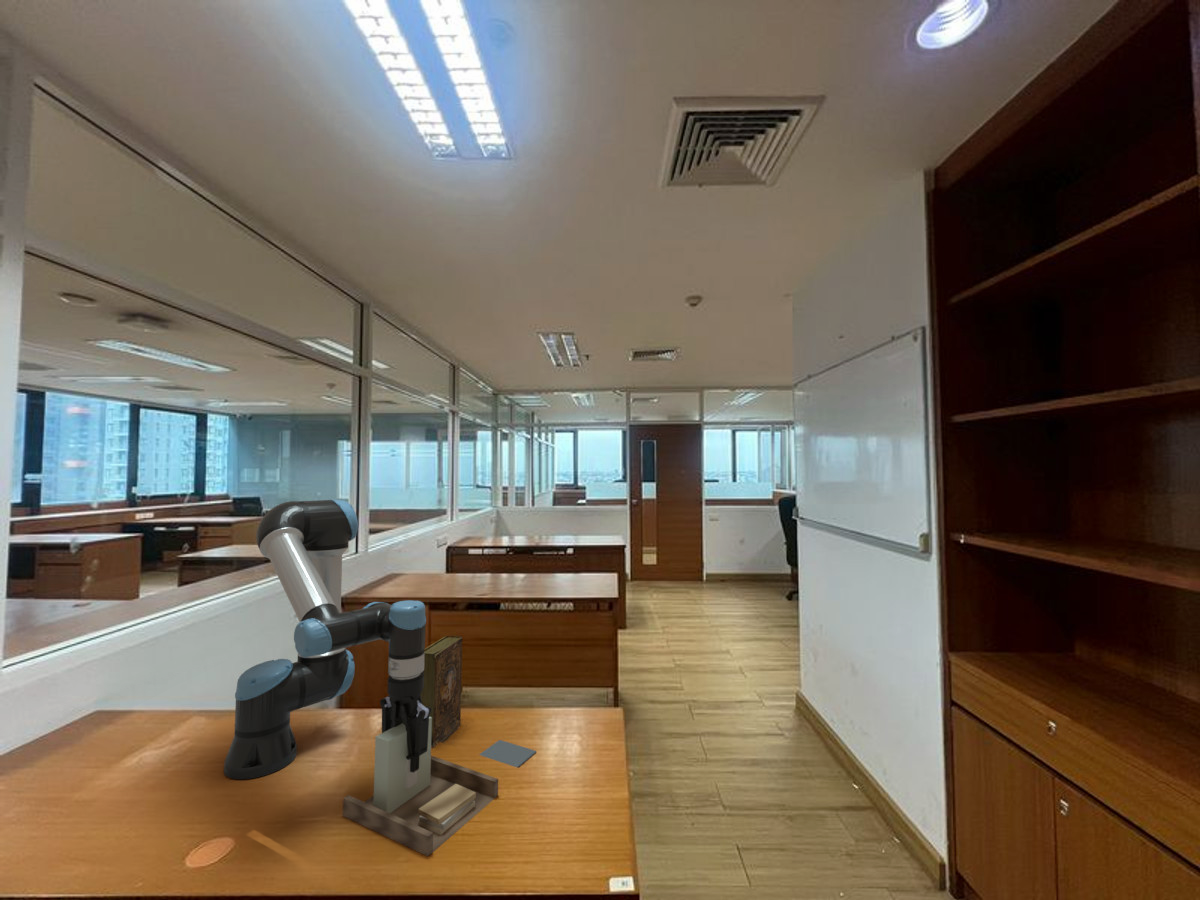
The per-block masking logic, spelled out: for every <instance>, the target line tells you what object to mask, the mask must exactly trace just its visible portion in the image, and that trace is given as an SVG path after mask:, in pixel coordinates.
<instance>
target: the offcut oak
mask: <svg viewBox="0 0 1200 900" xmlns="http://www.w3.org/2000/svg"><path fill="white" fill-rule="evenodd" d="M474 798H476V792H473V791H471V790H469V789H467V788H465V787H462V786H460V785H458V784H455V785H453V786H452V787H450V788H449V789H447V790H446V791H444V792H443V793H441V794H440V795H438V796H437V797H435V798H434V799H432V800H431V801H429V802H428V803H426V804H425V805H423V806H422V807H420V808H419V809H418V814H419V815H421V816H423V817H425V818H427V819H429V820H431V821H433V822H435V823H436V824H438V825H439V824H440V823H442V822H443V821H444V820H446V819H447V818H449V817H450V816H451V815H453V814H454V813H455V812H457V811H458V810H459V809H461V808H462V807H464V806H465V805H466V804H468V803H469V802H470V801H472V800H473V799H474Z"/></svg>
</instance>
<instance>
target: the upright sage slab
mask: <svg viewBox="0 0 1200 900" xmlns="http://www.w3.org/2000/svg"><path fill="white" fill-rule="evenodd" d="M431 732H432V717H429V728H428V747H427V752H425V753H423V754H422V755H420V756H419V769H418V770H417V783H416V784H414V785H413V786H411V787H410V788H408V789H405V764H406V756H408V755H409V754H408V745H407V731H406V727H405V725H404V724H403V723H402V724H400V725H398V726H396V727H393V728H391V729H389V730H387V731H385V732H383V733H382V732H381V733H380V734H378V735H376V736H375V739H374V740H375V741H374V745H375V747H374V772H373V773H374V775H373V778H374V779H373V796H374V802H373V806H374V807H377V808H379V809H381V810H383V811H386V812H388V813H391V812H393V811H394V810H395V809H397V808H398V807H400V806H401V805H402V804H404V803H405V802H407V801H408V800H409V799H411V798H412V797H414V796H415V795H416V794H418V793H419V792H421V791H422V790H424V789H425V788H426V787H428V786H429V785H430V772H431V756H432V745H431Z"/></svg>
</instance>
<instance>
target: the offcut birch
mask: <svg viewBox="0 0 1200 900" xmlns="http://www.w3.org/2000/svg"><path fill="white" fill-rule="evenodd" d="M473 807H475V801H473V802H472V803H471V804H470V805H469V806H468V807H466V808H465V809H464V810H463V811H462V812H461V813H460V814H459V815H458V816H457V817H456V818H455V819H454V820H453V821H452V822H451V823H450V824H449V825H448V826H447V827H446V828H445V829H444V830H442V829H440V828H437V827H434V826H431V825H428V824H425V823H422V822H418V825H419V826H421V827H423V828H425V829H428V830H430V831H432V832H434V833H437V834H439V835H441V834H443V833H444V832H445V831H446V830H447V829H449V828H450V827H451V826H452V825H453V824H454V823H456V822H457V821H458V820H459V819H460V818H462V817H463V816H464V815H465V814H466V813H467V812H469V811H470V810H471V809H472V808H473Z"/></svg>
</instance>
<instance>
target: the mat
mask: <svg viewBox="0 0 1200 900" xmlns="http://www.w3.org/2000/svg"><path fill="white" fill-rule="evenodd" d="M536 754H537V750H534V749H531V748H528V747H525V746H521V745H518V744H514V743H512V742H508V741H505V740H501V739H499V740H497V741H496V742H494V743H493V744H492V745H490V746H489V747H488V748H486V749H485V750H484V751H482V752H480V753H479V756H481V757H484V758H487V759H490V760H494V761H496V762H499V763H502V764H505V765H509V766H511V767H515V768H517V769H519V768H520V767H521V766H522V765H524V764H525V763H526V762H527V761H528V760H529V759H531V758H532V757H533V756H534V755H536Z"/></svg>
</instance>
